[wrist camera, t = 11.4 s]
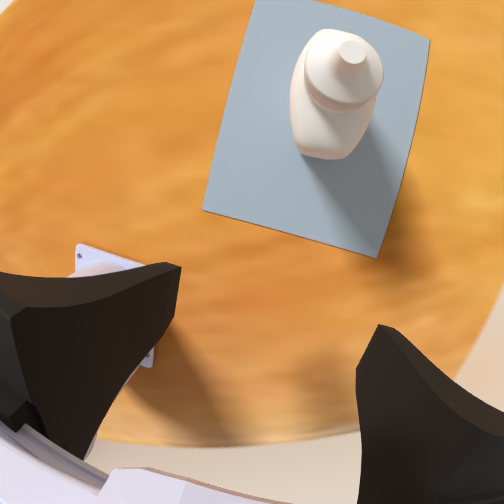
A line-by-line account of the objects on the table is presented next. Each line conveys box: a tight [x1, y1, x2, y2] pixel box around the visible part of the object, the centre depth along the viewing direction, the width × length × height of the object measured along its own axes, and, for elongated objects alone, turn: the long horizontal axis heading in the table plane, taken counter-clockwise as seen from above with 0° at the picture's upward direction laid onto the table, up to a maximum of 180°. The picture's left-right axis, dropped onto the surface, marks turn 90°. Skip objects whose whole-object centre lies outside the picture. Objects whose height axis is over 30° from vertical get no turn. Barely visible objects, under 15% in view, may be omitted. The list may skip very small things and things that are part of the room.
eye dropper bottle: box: [289, 29, 384, 160], centre depth 12 cm, size 4×6×12 cm
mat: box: [202, 0, 430, 258], centre depth 18 cm, size 16×12×1 cm
